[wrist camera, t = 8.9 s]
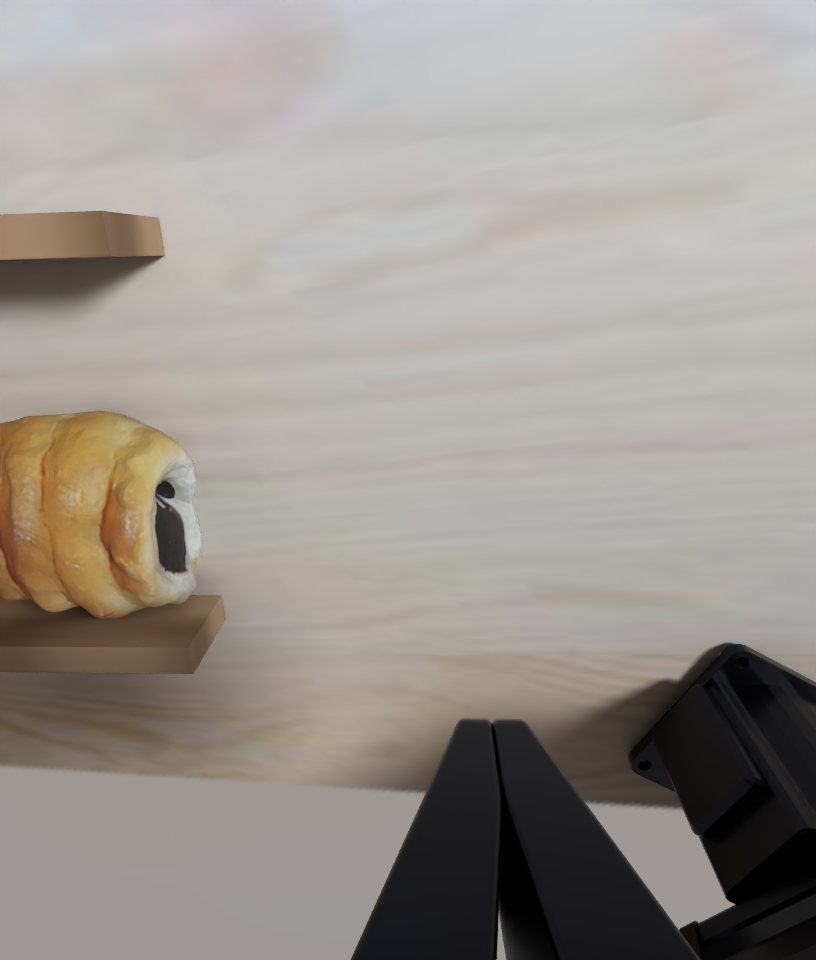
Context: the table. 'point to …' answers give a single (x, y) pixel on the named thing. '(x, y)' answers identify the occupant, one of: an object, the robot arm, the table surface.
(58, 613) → the wooden frame
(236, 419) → the table surface
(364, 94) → the table surface
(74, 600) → the pastry
